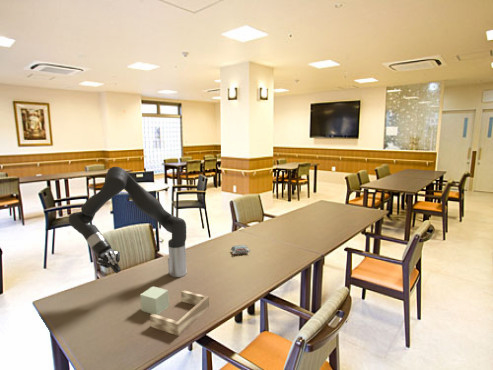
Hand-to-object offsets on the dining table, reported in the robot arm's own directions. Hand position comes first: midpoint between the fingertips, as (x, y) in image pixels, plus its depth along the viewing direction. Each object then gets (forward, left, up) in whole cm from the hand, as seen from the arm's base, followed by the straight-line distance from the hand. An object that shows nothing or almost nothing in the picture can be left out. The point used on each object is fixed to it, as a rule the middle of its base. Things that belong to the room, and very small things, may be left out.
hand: (118, 271), depth 141 cm
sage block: (+22, 0, -14) cm, 26 cm away
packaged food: (+29, +73, -14) cm, 80 cm away
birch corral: (+36, 0, -14) cm, 39 cm away
